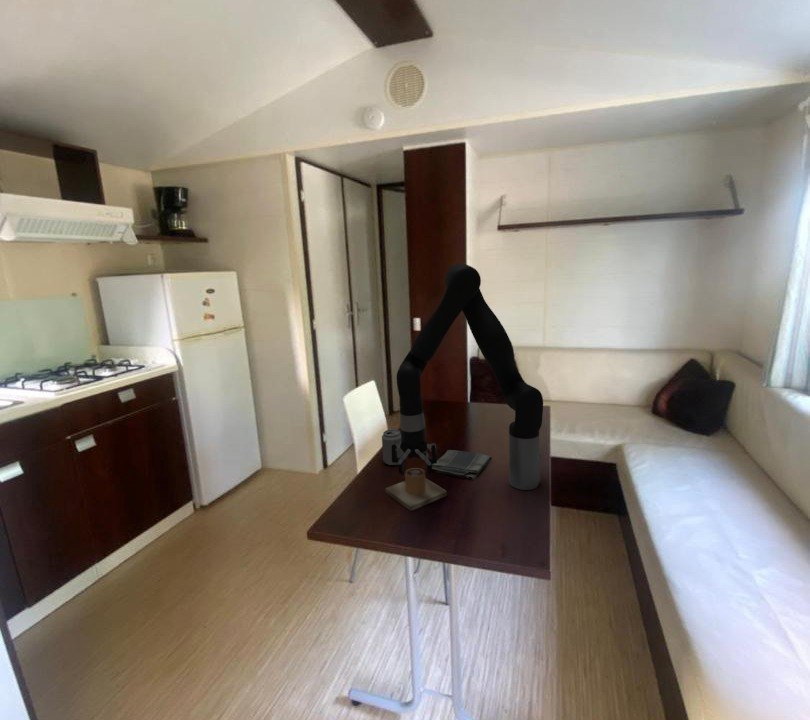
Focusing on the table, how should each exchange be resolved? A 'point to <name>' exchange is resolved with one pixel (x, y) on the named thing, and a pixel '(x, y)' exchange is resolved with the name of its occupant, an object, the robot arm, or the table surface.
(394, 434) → the can
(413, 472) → the grey glossy cylinder
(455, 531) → the table surface
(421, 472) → the collar
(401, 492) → the base
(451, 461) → the dish towel
